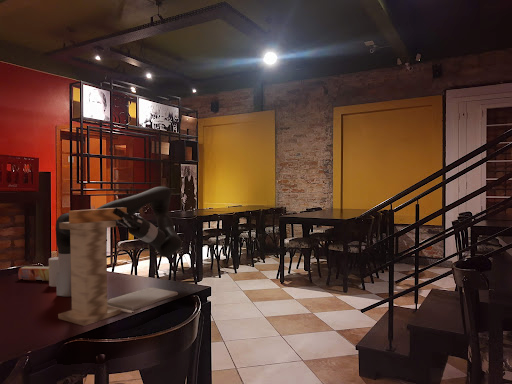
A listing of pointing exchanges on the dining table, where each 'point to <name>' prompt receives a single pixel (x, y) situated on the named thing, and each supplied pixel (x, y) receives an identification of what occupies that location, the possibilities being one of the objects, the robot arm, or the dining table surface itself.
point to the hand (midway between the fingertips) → (110, 210)
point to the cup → (53, 271)
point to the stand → (88, 273)
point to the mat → (140, 298)
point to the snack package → (34, 273)
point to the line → (123, 309)
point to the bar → (93, 215)
